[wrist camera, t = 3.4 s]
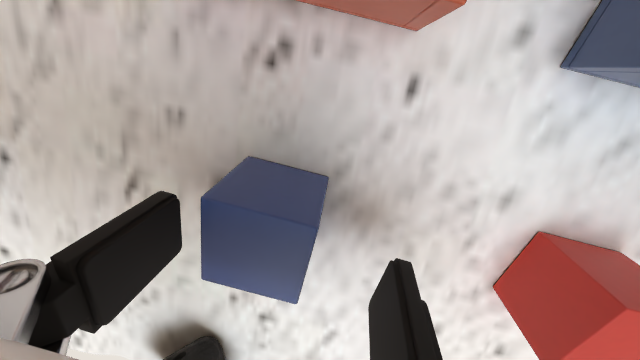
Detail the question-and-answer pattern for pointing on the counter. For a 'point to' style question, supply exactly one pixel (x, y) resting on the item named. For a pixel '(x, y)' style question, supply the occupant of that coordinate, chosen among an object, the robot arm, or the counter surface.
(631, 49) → the blue bin
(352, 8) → the terracotta bin
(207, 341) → the mineral
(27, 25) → the counter surface
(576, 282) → the red block
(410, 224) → the counter surface
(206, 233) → the blue block
